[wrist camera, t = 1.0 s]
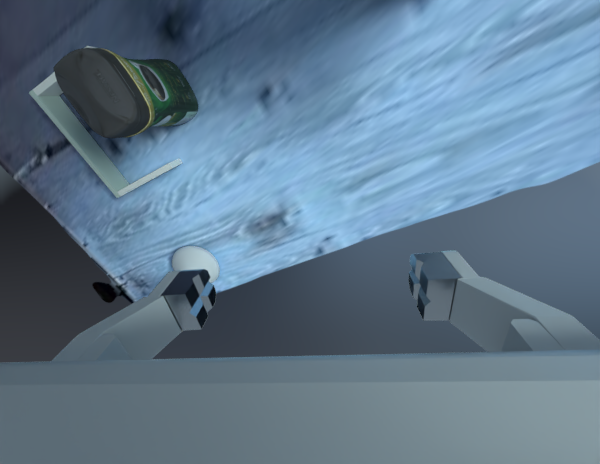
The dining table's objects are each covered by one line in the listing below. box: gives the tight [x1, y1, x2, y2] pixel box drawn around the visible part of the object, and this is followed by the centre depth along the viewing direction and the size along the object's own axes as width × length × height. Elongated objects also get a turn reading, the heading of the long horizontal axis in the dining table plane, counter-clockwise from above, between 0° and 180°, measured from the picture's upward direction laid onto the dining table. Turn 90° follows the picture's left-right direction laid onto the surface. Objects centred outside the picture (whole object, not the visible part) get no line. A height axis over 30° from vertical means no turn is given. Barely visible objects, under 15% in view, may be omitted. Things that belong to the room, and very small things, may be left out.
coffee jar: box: [54, 48, 198, 138], centre depth 37 cm, size 10×8×19 cm
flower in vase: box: [172, 246, 220, 332], centre depth 51 cm, size 13×11×25 cm
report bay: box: [29, 46, 183, 198], centre depth 46 cm, size 14×20×4 cm
